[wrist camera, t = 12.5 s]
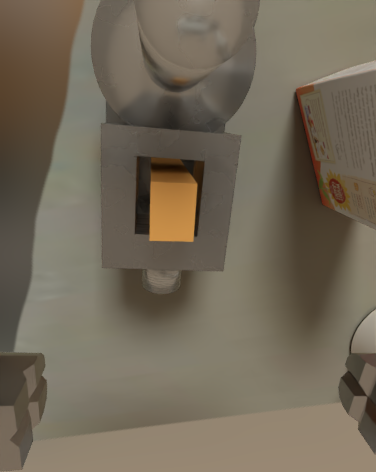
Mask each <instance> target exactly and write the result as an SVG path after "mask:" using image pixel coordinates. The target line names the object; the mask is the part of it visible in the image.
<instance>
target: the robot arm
mask: <svg viewBox="0 0 376 472" xmlns="http://www.w3.org/2000/svg"><path fill="white" fill-rule="evenodd" d="M345 366H346V368H347V370H348V371H347V372H346V373H345V374H344V375H343V376H342V377H341V379H340V383H339V387H338V388H339V397H340V400H341V403H342V405H343V407H344V409H345V410H346V412H347V413H348V415H350V416H351V417H353V418H354V419H355V420H357V421H358V422H359V425H358V426H359V427H358V430H359V431H360V433H361V434H362V436H363V437H364V439H365V440H366V442H367V443H368V445H369V446H370V448H371V449H372V451H373V452H374V454H376V309H375V310H374V311H373V312H371V313H370V314H369V315H368V316H367V317H366V318H365V319H364V320H363V322H362V323H361V324H360V326H359V327H358V329H357V331H356V333H355V335H354V337H353V341H352V345H351V354H350V355H349V356H348V357H347V360H346V363H345ZM44 368H45V358H44V355H43V354H42V353H17V352H0V471H12V470H22V468H23V465H24V463H25V460H26V458H27V455H28V453H29V450H30V447H31V445H32V442H33V434H32V429H33V428H34V427H35V426H36V425H38V424H39V423H40V421H41V418H42V415H43V412H44V408H45V403H46V399H47V380H46V379H45V378H44V377H43V376H42V373H43V371H44Z"/></svg>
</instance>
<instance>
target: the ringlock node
mask: <svg viewBox="0 0 376 472" xmlns="http://www.w3.org/2000/svg"><path fill="white" fill-rule="evenodd" d="M259 4H260V0H101V2H100V4H99V6H98V8H97V11H96V15H95V18H94V22H93V28H92V34H91V55H92V63H93V68H94V72H95V76H96V79H97V82H98V84H99V87H100V89H101V91H102V93H103V95H104V97H105V99H106V112H107V123H101V193H102V268H126V269H143V270H142V286H143V288H144V289H145V290H147V291H149V292H152V293H156V294H168V293H172V292H175V291H177V290H178V289H179V288H180V281H181V270H195V271H223V269H224V262H225V254H226V247H227V240H228V232H229V225H230V217H231V210H232V202H233V195H234V188H235V180H236V173H237V165H238V158H239V150H240V143H241V135H235V134H230V133H224V129H225V123H226V122H227V121H228V120H229V119H230V118H231V117H232V116H233V115H234V114H235V113H236V111H237V110H238V109H239V107H240V106H241V104H242V102H243V101H244V99H245V97H246V95H247V93H248V91H249V88H250V85H251V82H252V79H253V75H254V70H255V63H256V39H255V32H254V26H255V23H256V19H257V16H258V11H259ZM151 157H153V158H172V159H180V160H181V161H182V163H183V164H184V166H185V167H186V168H187V170H188V171H189V173H190V174H191V176H192V177H193V178H194V180H195V181H196V183H197V197H196V211H195V225H194V239H193V242H184V241H149V239H150V189H151Z"/></svg>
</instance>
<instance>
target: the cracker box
mask: <svg viewBox="0 0 376 472" xmlns="http://www.w3.org/2000/svg"><path fill="white" fill-rule="evenodd" d="M296 93H297V97H298V102H299V106H300V110H301V115H302V119H303V123H304V127H305V132H306V136H307V140H308V144H309V148H310V153H311V157H312V162H313V166H314V170H315V174H316V178H317V183H318V187H319V191H320V195H321V200H322V204H323V205H324V206H327V207H329V208H330V209H333V210H335V211H337V212H339V213H341V214H343V215H345V216H348V217H350V218H352V219H354V220H356V221H358V222H360V223H362V224H365V225H367V226H369V227H371V228H373V229H375V230H376V61H373V62H369V63H365V64H361V65H358V66H355V67H352V68H348V69H345V70H342V71H339V72H337V73H334V74H332V75H329V76H326V77H324V78H321V79H319V80H316V81H314V82H312V83H309V84H307V85H304V86H302V87H299V88H297V89H296Z"/></svg>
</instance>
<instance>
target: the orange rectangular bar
mask: <svg viewBox="0 0 376 472" xmlns="http://www.w3.org/2000/svg"><path fill="white" fill-rule="evenodd" d="M196 197H197V183H196V181H195V180H194V178H193V177H192V176H191V174H190V173H189V171H188V170H187V168H186V167H185V166H184V164H183V163H182V161H181V160H180V159H172V158H153V157H151V189H150V239H149V241H184V242H193V239H194V225H195V211H196Z"/></svg>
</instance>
